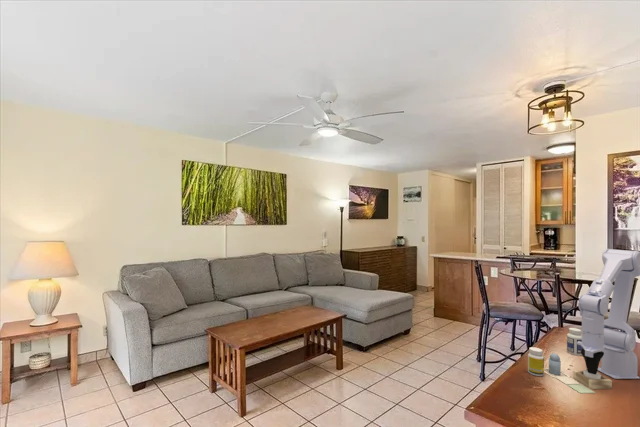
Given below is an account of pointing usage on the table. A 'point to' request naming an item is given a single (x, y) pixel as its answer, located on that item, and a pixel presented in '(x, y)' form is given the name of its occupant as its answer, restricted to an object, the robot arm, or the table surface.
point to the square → (567, 380)
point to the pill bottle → (574, 341)
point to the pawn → (554, 364)
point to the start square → (555, 376)
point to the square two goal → (581, 389)
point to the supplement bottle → (535, 361)
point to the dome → (592, 375)
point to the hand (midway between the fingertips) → (592, 373)
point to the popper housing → (592, 381)
